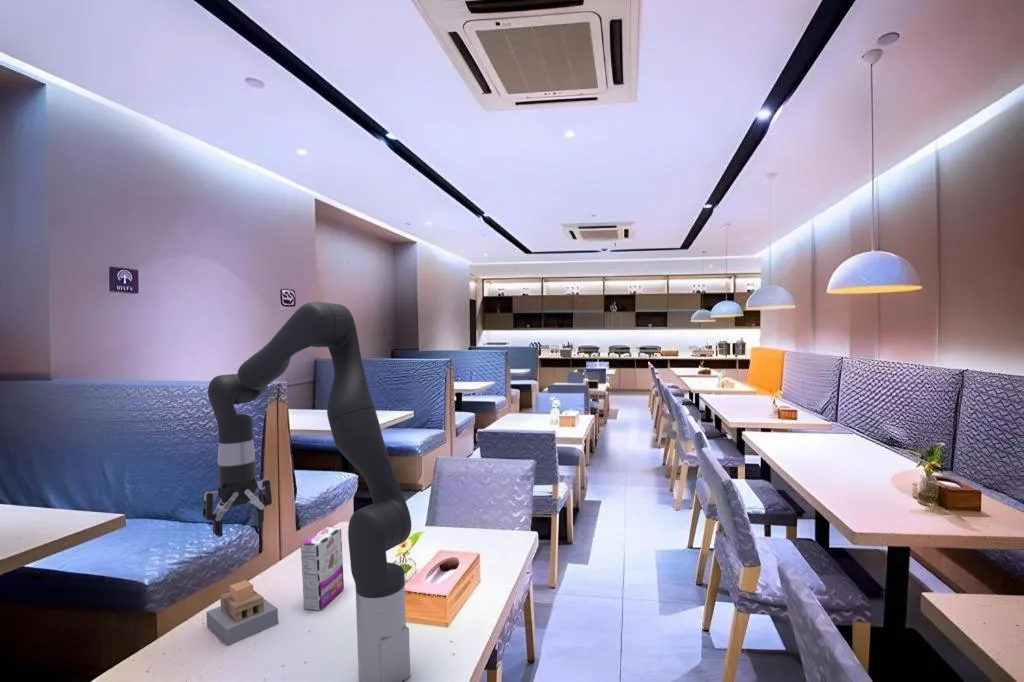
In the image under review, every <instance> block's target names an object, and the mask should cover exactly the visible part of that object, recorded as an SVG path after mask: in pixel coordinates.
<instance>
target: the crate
mask: <svg viewBox="0 0 1024 682" xmlns="http://www.w3.org/2000/svg"><path fill="white" fill-rule="evenodd" d="M253 590H254V584H253V583H251V582H249V580H247V579H244V580H241V581H239V582H236V583H233V584H230V585H229V592H230V597H231V598H232V599H233V600H235V601H236V602H239V601H242V600H245V599H247V598H250V597H252V596H254V595H253Z"/></svg>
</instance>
